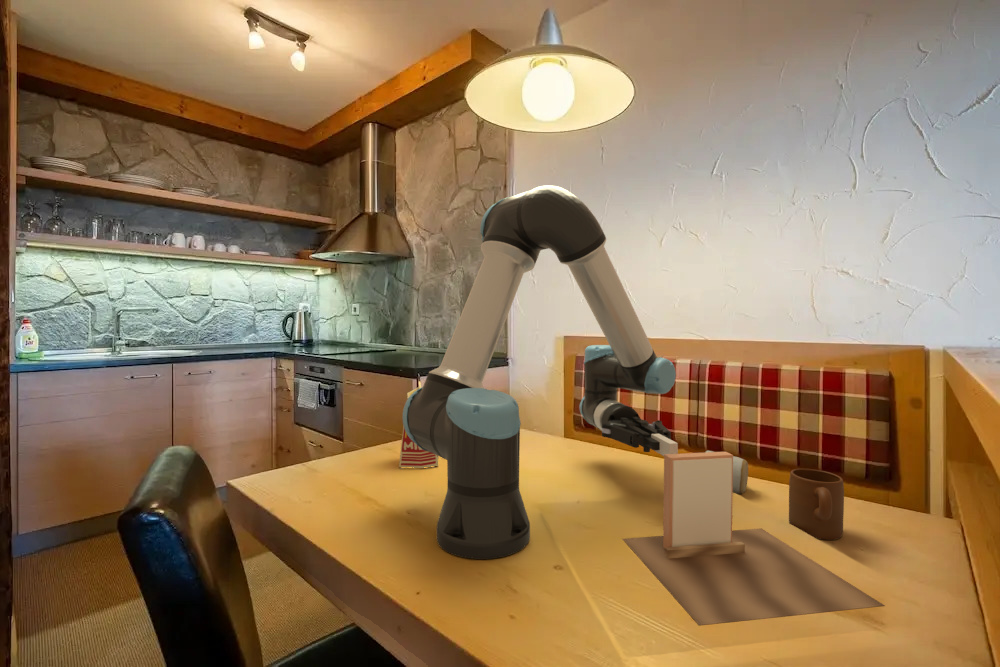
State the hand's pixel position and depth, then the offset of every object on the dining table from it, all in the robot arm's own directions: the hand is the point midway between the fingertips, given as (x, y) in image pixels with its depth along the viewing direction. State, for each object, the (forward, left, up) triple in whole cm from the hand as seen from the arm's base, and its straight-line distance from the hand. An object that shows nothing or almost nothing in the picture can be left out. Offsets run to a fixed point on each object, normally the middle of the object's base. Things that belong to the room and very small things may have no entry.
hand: (673, 451), depth 78 cm
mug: (+22, -6, -14) cm, 27 cm away
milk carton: (-43, +43, -14) cm, 62 cm away
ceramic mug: (+21, +17, -14) cm, 30 cm away
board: (+1, -15, -13) cm, 20 cm away
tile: (-1, -9, -12) cm, 15 cm away
